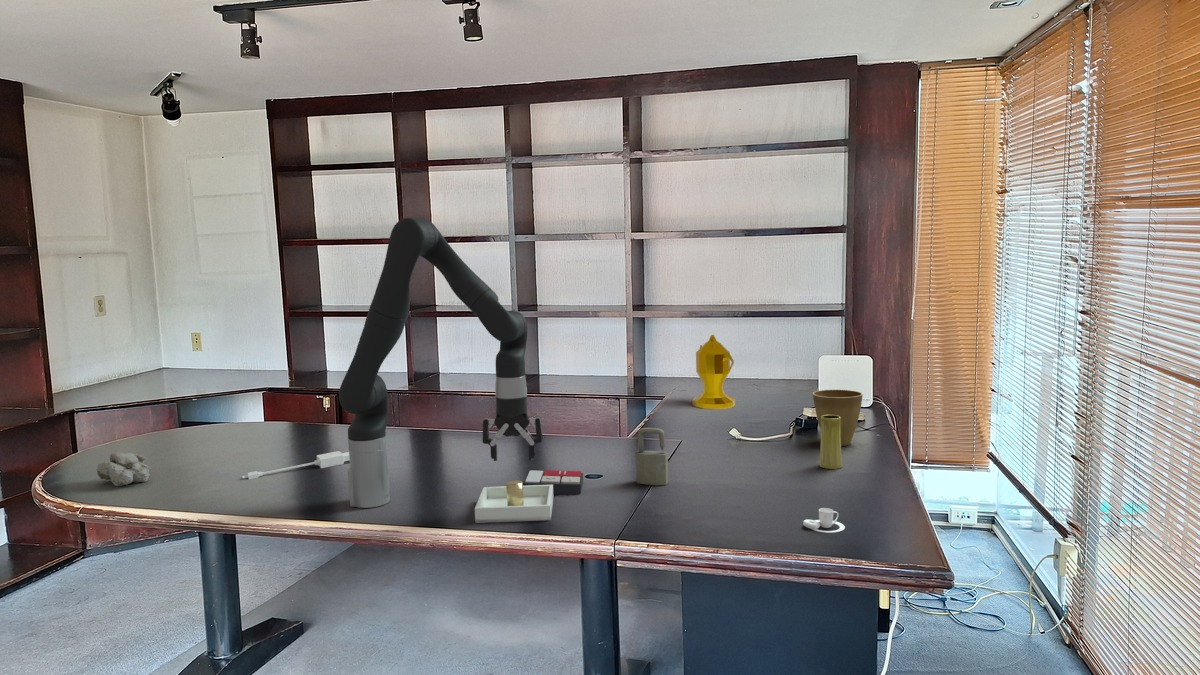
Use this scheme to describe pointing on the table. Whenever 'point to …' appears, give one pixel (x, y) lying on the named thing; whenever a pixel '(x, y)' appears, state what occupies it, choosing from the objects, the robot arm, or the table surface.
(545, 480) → the calculator
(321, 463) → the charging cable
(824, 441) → the vase
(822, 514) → the teacup and saucer
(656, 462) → the padlock
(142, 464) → the mineral
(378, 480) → the robot arm
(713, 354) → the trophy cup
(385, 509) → the table surface
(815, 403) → the plant pot
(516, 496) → the cylinder
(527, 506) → the tray
